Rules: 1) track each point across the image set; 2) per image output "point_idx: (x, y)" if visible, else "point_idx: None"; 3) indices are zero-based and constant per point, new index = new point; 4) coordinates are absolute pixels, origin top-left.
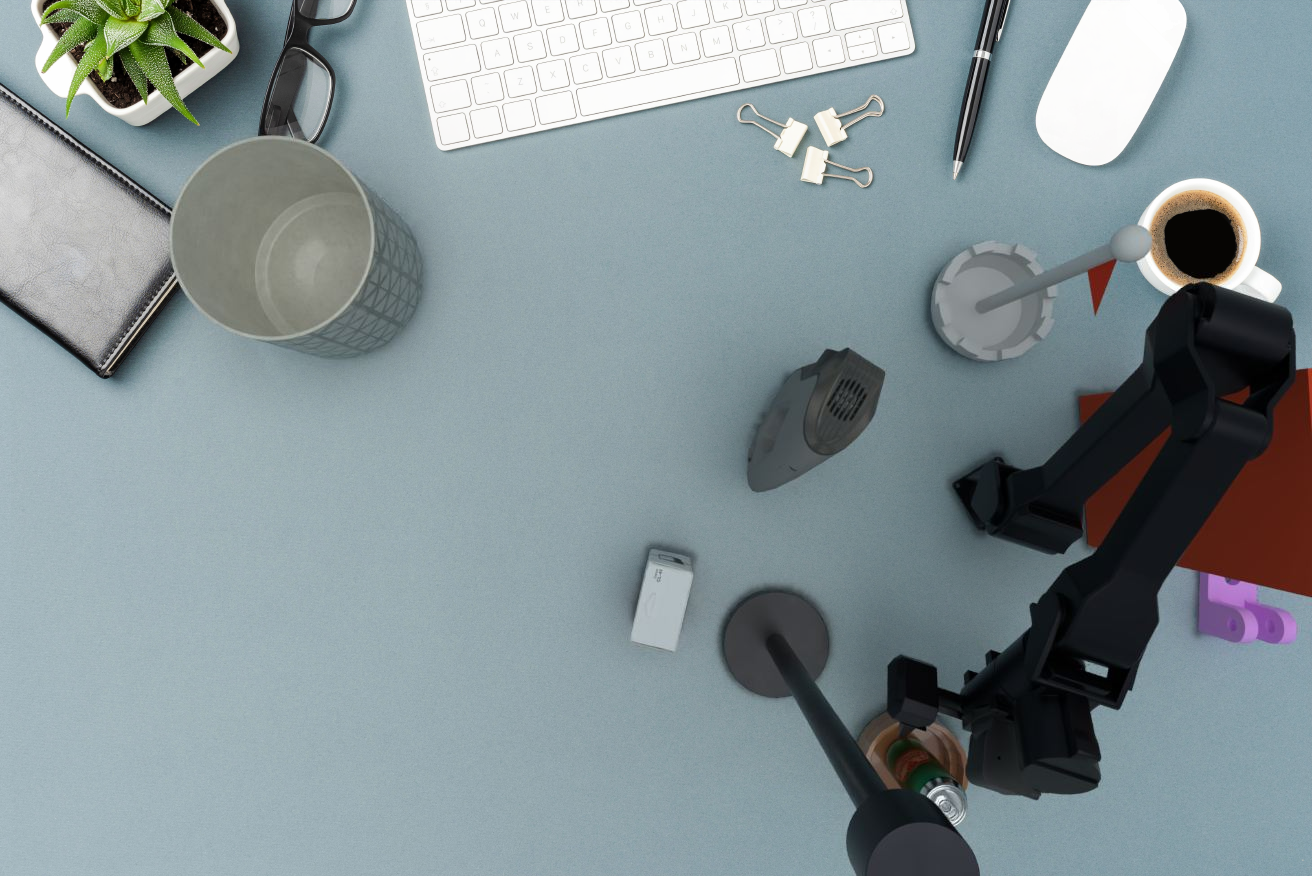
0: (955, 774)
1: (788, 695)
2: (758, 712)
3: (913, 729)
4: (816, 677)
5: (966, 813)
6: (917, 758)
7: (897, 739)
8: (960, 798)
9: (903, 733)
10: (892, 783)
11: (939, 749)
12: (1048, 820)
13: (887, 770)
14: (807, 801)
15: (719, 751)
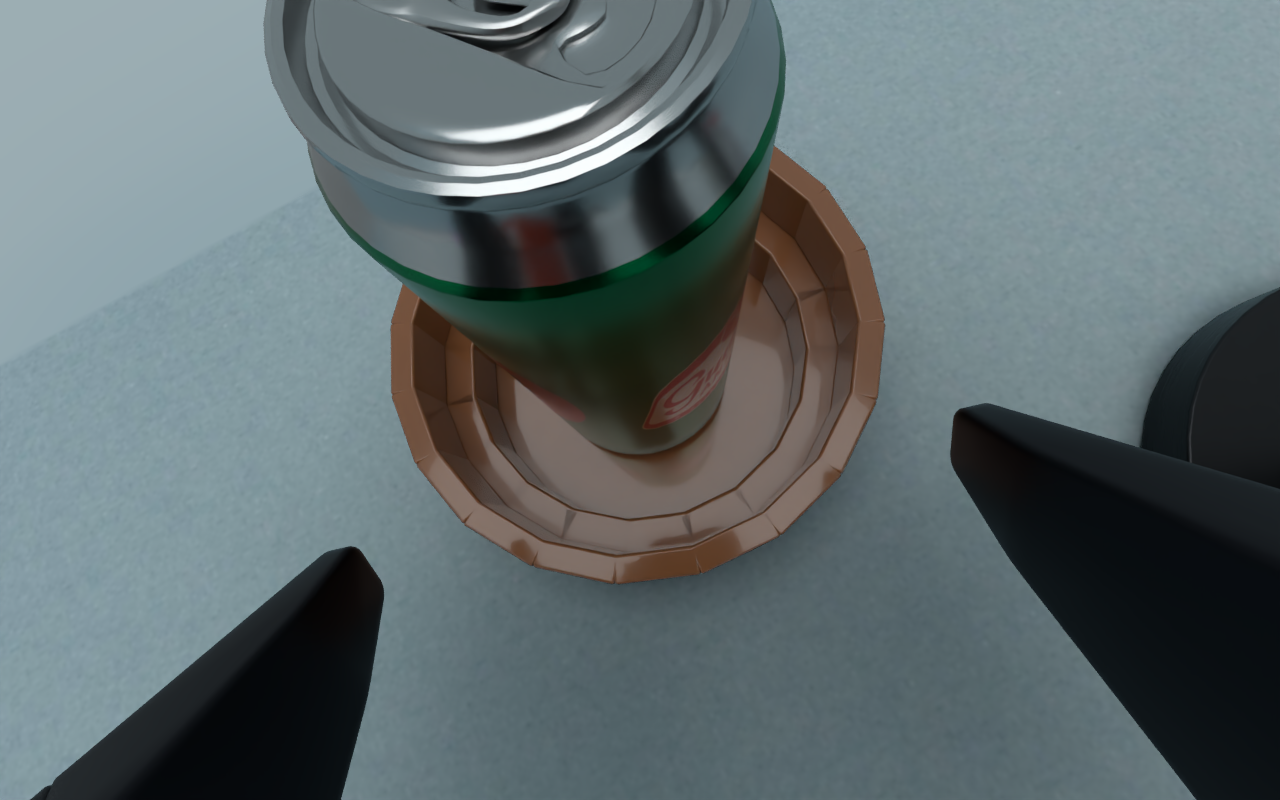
0: (455, 413)
1: (1238, 328)
2: (1211, 228)
3: (1273, 554)
4: (1198, 459)
5: (265, 39)
6: (712, 362)
7: None
8: (390, 124)
9: (1087, 444)
10: None
11: (544, 466)
12: (103, 449)
13: None
14: (846, 87)
15: (1219, 54)
